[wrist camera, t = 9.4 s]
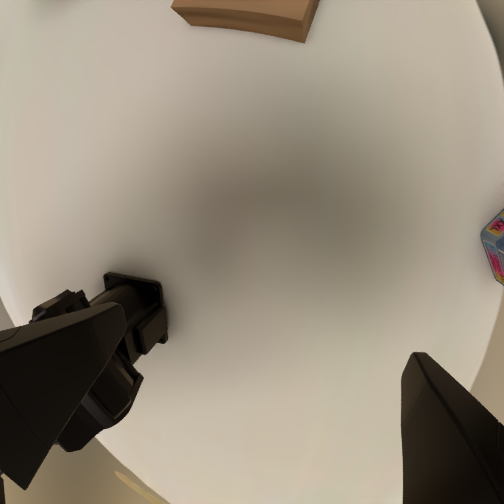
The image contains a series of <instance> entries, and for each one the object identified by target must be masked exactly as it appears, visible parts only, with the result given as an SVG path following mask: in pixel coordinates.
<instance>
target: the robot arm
mask: <svg viewBox="0 0 504 504" xmlns="http://www.w3.org/2000/svg"><path fill="white" fill-rule="evenodd" d="M103 277H104V284H105V289H106V290H105V291H103V292H102V293H100V294H99V295H98V296H96V297H95V298H93V299H92V300H91V301H89V302H88V300H87V299H86V297H85V293H84V292H83V290H80V291H79V292H77V293H75V291H74V292H71V291H69V290H68V289H67V290H66V291H64V292H62V293H61V294H59V295H58V296H56V297H54V298H52V299H50V300H48V301H46V302H44V303H42V304H40V305H39V306H37V307H36V308H34V309H33V314H32V320H30V321H29V324H27V325H23V326H19V327H15V328H11V329H7V330H3V331H0V504H5V494H4V483H3V479H2V477H1V475H2V474H3V473H4V474H5V475H7V476H8V477H9V478H10V479H11V480H13V481H14V482H15V483H16V484H17V485H18V486H20V487H21V488H22V489H23V490H26V489H27V488H28V486H29V485H30V483H31V481H32V479H33V477H34V476H35V474H36V472H37V471H38V469H39V467H40V466H41V464H42V462H43V460H44V459H45V457H46V456H47V454H48V452H49V450H50V449H51V447H52V446H53V445H55V444H56V445H57V444H58V445H60V446H61V447H62V448H63V449H64V450H65V451H66V452H73V451H77V450H81V449H82V448H83V447H84V446H85V445H86V444H87V443H88V442H89V441H90V440H91V439H92V438H93V437H94V436H96V435H97V434H98V433H99V432H101V431H102V430H103V429H107V428H110V427H112V426H114V425H116V424H117V423H119V422H120V421H121V420H122V419H123V418H124V417H125V416H126V415H127V414H128V412H129V411H130V409H131V407H132V405H133V402H134V400H135V398H136V395H137V393H138V390H139V388H140V386H141V383H142V381H143V379H144V377H143V376H142V375H141V374H140V373H138V371H137V370H136V369H135V368H134V366H133V364H134V363H135V362H136V361H137V360H138V359H139V357H140V356H141V355H142V354H143V355H146V354H147V353H148V352H149V351H150V350H151V349H152V348H153V346H154V345H155V344H156V343H161V344H165V343H166V342H167V340H168V337H167V322H166V314H165V307H164V305H163V297H162V287H161V285H160V283H158V282H156V281H151V280H146V279H140V278H135V277H130V276H124V275H119V274H114V273H109V272H108V273H106V274H104V276H103ZM154 286H156V288H157V289H156V288H155V287H154ZM162 338H163V339H162ZM401 436H402V454H403V504H504V426H503V425H502V424H501V423H500V422H498V420H497V419H496V418H495V417H494V416H493V415H492V414H491V413H490V412H489V411H488V410H487V409H486V408H485V407H484V406H483V405H482V404H481V403H480V402H478V401H477V399H476V398H475V397H473V396H472V395H471V394H470V393H469V392H468V391H467V390H466V389H465V388H464V387H463V386H462V385H461V384H460V383H459V382H458V381H456V380H455V379H454V378H453V377H452V376H451V375H450V374H449V373H448V372H447V371H446V370H444V369H443V368H442V367H441V366H440V365H439V364H438V363H437V362H436V361H435V360H433V359H432V358H431V357H430V356H429V355H428V354H427V353H425V352H413V353H412V354H411V355H410V358H409V360H408V362H407V365H406V367H405V369H404V371H403V374H402V378H401Z"/></svg>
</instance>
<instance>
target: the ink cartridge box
mask: <svg viewBox="0 0 504 504" xmlns="http://www.w3.org/2000/svg"><path fill="white" fill-rule="evenodd" d="M481 238H482V242H483V245H484V247H485V250H486V253H487V255H488V258H489V261H490V264H491V267H492V270H493V273H494V276H495V279H496V281H498V282H499V283H501V284H502V285H503V286H504V210H503V211H502V212H501V213H500V214H499V215H498V216H497V217H496V218H494V219H493V220H492V222H491V223H489V224H488V225H487V226H486V227H485V228H484V229H483V230H482V232H481Z"/></svg>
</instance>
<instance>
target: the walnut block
mask: <svg viewBox="0 0 504 504" xmlns="http://www.w3.org/2000/svg"><path fill="white" fill-rule="evenodd" d="M319 1H320V0H174V1H173V3H172V5H171V8H172V9H173V10H174V11H175V12H177V13H178V14H179V15H180V16H181V17H182V18H183V19H185V20H186V21H187V22H188V23H189V24H190V25H191V26H205V27H217V28H226V29H235V30H242V31H249V32H255V33H260V34H266V35H271V36H276V37H281V38H285V39H289V40H294V41H298V42H302V43H305V41H306V38H307V35H308V32H309V29H310V26H311V24H312V21H313V18H314V15H315V12H316V10H317V7H318V4H319Z"/></svg>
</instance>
